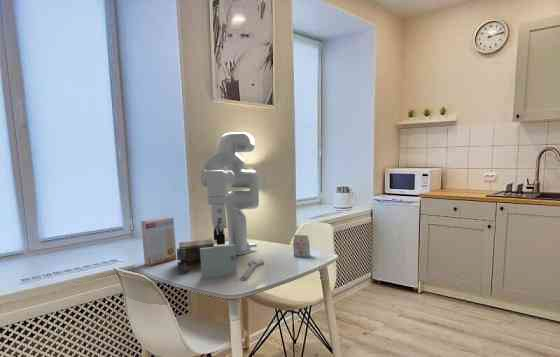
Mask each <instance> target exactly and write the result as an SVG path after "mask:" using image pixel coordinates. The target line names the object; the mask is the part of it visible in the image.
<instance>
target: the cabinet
mask: <svg viewBox="0 0 560 357" xmlns="http://www.w3.org/2000/svg"><path fill="white" fill-rule="evenodd" d="M214 244H215V242H214V241H213V240H212V238H211V239H208V238H207V239H202V240H193V241H190V240H189V241H182V242H178V248H176V258H177V259H176V260H177V275H184V274H185V275H186V274H188V269H189V270H190V269H195V268H197V269H198V268H201V258H200V248H206V247H214Z"/></svg>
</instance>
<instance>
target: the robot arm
mask: <svg viewBox="0 0 560 357" xmlns="http://www.w3.org/2000/svg"><path fill="white" fill-rule="evenodd" d="M255 143H256V142H255V138H254V137H253V136H252V135H251V134H250V133H247V132H244V131H243V132H241V131H240V132H228V133H225V134H223V135H222V136H221V137H220V140H219V144H218V148H217V152H216V153H215V154H213V155H212V156H211V157H210V158H208V159H207V160H206V161H205V162H204V164H203V166H202V169H201V172H200V184H201V185H202V186H203V187H204V188H207V190H206V191H207V205H209V206H210V212H211V224H212V227H213V240H214V241H216V246H223V245H226V238H225V236H226V235H225V234H226V233H225V229H227V237H228V238H227V239H228V245H231V244H234V245H235V254H236V256H241V255H245V254H246V255H247V254H248V253H250V252H251V251H252V250H251V248H257V243H256V242H255V243H253V242H250V243H249V242H248V233H247V232H248V231H247V218H246V215H245V214H244V212H243V211H242V210H254V209H257V208H258V207H259V203H260V192H259V191H260V188H259V187H260V186H259V185H260V184H259V175H258V172H257V171H256V170H255V169H245V162H244V159H243V158H242V157H241V155H240V154H238V153H250V152H253V151H254V149H255V146H256V144H255ZM224 167H227V169H221V168H224ZM227 188H230V189H234V190H232V191H229V192H227ZM235 189H236V190H235ZM237 189H239V190H237ZM241 189H242V190H241ZM243 189H249V190H243Z"/></svg>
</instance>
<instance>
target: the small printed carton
mask: <svg viewBox="0 0 560 357" xmlns="http://www.w3.org/2000/svg"><path fill="white" fill-rule="evenodd" d="M293 238H294V239H293V256H294V257H300V258H308V257H310V256H311V251H310V250H311V246H310V240H309V236H308V235H304V234H294V235H293Z"/></svg>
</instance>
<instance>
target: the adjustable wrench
mask: <svg viewBox="0 0 560 357" xmlns="http://www.w3.org/2000/svg"><path fill="white" fill-rule="evenodd" d="M264 264H265V259H262V258H260V259H259V260H258V261H255V260H254V259H252V260H250V261H248V264H247V265H248V268H247V270H245V272H244V273H242V275H241V276H240V281H241V282H244V281H248V279H249V278H250V277H251V275H252V274H253V273H254V271H255V270H256V268H258V267H260V266H263V265H264Z"/></svg>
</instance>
